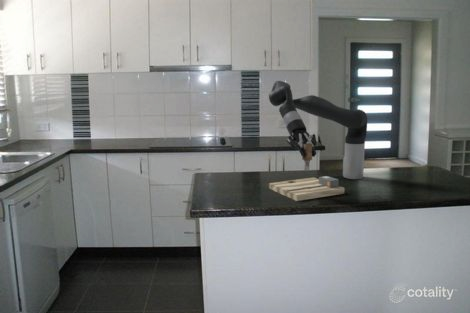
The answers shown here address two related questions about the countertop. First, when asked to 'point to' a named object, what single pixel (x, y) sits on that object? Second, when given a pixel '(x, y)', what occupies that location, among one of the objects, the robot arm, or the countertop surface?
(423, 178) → the countertop surface
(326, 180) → the block
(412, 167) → the countertop surface
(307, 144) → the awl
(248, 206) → the countertop surface
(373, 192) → the countertop surface
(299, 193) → the board
